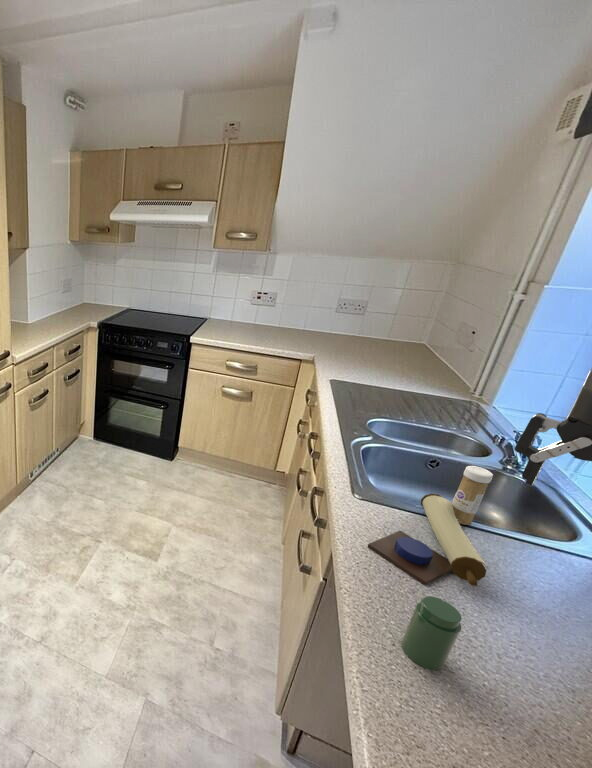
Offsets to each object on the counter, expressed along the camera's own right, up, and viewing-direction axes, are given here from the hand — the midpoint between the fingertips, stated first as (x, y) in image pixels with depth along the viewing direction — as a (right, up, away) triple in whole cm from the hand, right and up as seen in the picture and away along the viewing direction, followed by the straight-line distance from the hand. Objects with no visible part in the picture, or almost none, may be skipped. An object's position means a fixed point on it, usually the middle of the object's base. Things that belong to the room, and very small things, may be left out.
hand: (572, 498), depth 58 cm
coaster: (-1, -20, +27) cm, 34 cm away
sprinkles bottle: (+20, -16, +39) cm, 46 cm away
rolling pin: (+9, -18, +31) cm, 37 cm away
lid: (-1, -18, +26) cm, 32 cm away
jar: (-15, -27, +8) cm, 32 cm away
